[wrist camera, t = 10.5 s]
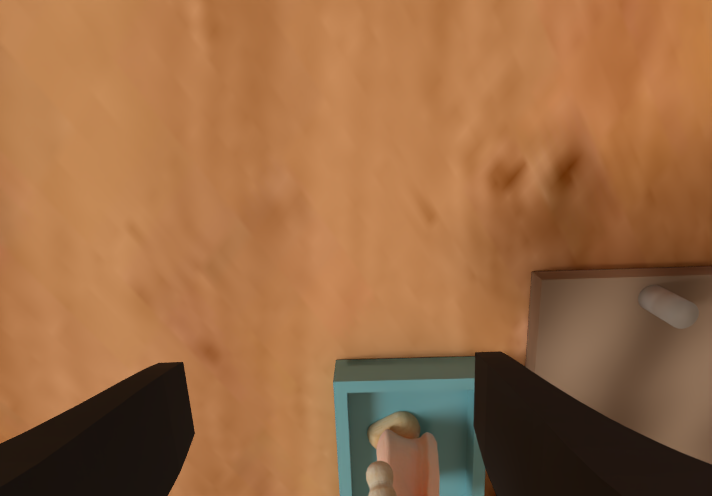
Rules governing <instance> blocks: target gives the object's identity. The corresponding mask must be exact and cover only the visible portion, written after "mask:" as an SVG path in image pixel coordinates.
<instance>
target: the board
mask: <svg viewBox="0 0 712 496" xmlns="http://www.w3.org/2000/svg"><path fill="white" fill-rule="evenodd" d="M525 367H526V368H528V369H529V370H531V371H532V372H534V373H535V374H537V375H538V376H540V377H542V378H543V379H545V380H546V381H548V382H549V383H551V384H552V385H554V386H556V387H557V388H559V389H560V390H562V391H563V392H565V393H567V394H568V395H570V396H572V397H573V398H575V399H577V400H578V401H580V402H582V403H583V404H585V405H587V406H589V407H590V408H592V409H594V410H596V411H598V412H599V413H601V414H603V415H605V416H606V417H608V418H610V419H612V420H614V421H616V422H618V423H620V424H622V425H624V426H625V427H628V428H630V429H632V430H634V431H636V432H638V433H640V434H642V435H644V436H646V437H648V438H651V439H653V440H655V441H657V442H659V443H661V444H663V445H666V446H668V447H670V448H672V449H675V450H677V451H679V452H682V453H684V454H687V455H689V456H692V457H694V458H697V459H699V460H702V461H704V462H706V463H709V464H711V465H712V266H699V267H667V268H635V269H603V270H571V271H540V272H532V276H531V291H530V305H529V320H528V335H527V349H526V364H525Z"/></svg>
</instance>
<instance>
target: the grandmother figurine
mask: <svg viewBox="0 0 712 496" xmlns="http://www.w3.org/2000/svg"><path fill="white" fill-rule="evenodd" d="M367 436H368V439H369V441H370V443H371V445H372V446H373V447H374V448H375V449H377V461H375V462H373V463H372V464H370V465H369V467H368V469H367V472H366V480H367V483H368V485H369V488H370V491H369V495H368V496H439V483H440V475H439V460H438V449H437V442H436V439H435V438H434V436H433V435H432V434H431V433H428V432H426V433H424V434H423V435H422V436H421V437H419V436H420V425H419V422H418V420H417V418H416V417H415V416H414V415H412V414H411V413H409V412H406V411H399V412H395V413H393V414H391V415H388V416H386V417H385V418H383V419H380V420H378V421H377V422H375V423H373V424H372V425H371V426H370V427H369V428H368V431H367Z"/></svg>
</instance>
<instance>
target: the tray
mask: <svg viewBox="0 0 712 496" xmlns="http://www.w3.org/2000/svg"><path fill="white" fill-rule="evenodd" d="M474 383H475V356H470V357H432V358H394V359H356V360H336V363H335V372H334V380H333V386H334V403H335V420H336V438H337V455H338V472H339V489H340V496H368V495H369V491H370V488H369V485H368V483H367V480H366V472H367V469H368V467H369V465H370V464H372V463H373V462H375V461H377V449H375V448H374V447H373V446H372V445H371V443H370V441H369V439H368V436H367V431H368V428H369V427H370V426H371V425H372V424H373V423H375V422H377V421H378V420H380V419H383V418H385V417H386V416H388V415H391V414H393V413H395V412H399V411H406V412H409V413H411V414H412V415H414V416H415V417H416V418H417V420H418V422H419V425H420V436H419V437H421V436H422V435H423V434H424V433H426V432H428V433H431V434H432V435H433V436H434V438H435V439H436V442H437V449H438V460H439V475H440V483H439V496H484V489H485V466H484V463H483V459H482V456H481V452H480V449H479V445H478V441H477V437H476V433H475V430H474V426H473V421H474Z"/></svg>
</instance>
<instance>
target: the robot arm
mask: <svg viewBox="0 0 712 496" xmlns="http://www.w3.org/2000/svg"><path fill="white" fill-rule="evenodd" d="M473 426H474V430H475V433H476V437H477V441H478V445H479V449H480V452H481V456H482V459H483V463H484V466H485V468H486V471H487V473H488V476H489V478H490V481H491V483H492V485H493V488H494V490H495V493H496V495H497V496H712V465H711V464H709V463H706V462H704V461H702V460H699V459H697V458H694V457H692V456H689V455H687V454H684V453H682V452H679V451H677V450H675V449H672V448H670V447H668V446H666V445H663V444H661V443H659V442H657V441H655V440H653V439H651V438H648V437H646V436H644V435H642V434H640V433H638V432H636V431H634V430H632V429H630V428H628V427H625V426H624V425H622V424H620V423H618V422H616V421H614V420H612V419H610V418H608V417H606V416H605V415H603V414H601V413H599V412H598V411H596V410H594V409H592V408H590V407H589V406H587V405H585V404H583V403H582V402H580V401H578V400H577V399H575V398H573V397H572V396H570V395H568V394H567V393H565V392H563V391H562V390H560V389H559V388H557V387H556V386H554V385H552V384H551V383H549V382H548V381H546V380H545V379H543V378H542V377H540V376H538V375H537V374H535V373H534V372H532V371H531V370H529V369H528V368H526V367H525V366H523V365H522V364H520V363H519V362H517V361H516V360H514V359H513V358H511V357H509V356H508V355H506V354H504V353H502V352H475V383H474V421H473ZM194 434H195V432H194V425H193V419H192V413H191V407H190V401H189V395H188V389H187V383H186V377H185V371H184V364H183V362H172V363H158V364H155V365H153V366H150V367H148V368H146V369H144V370H142V371H140V372H138V373H136V374H134V375H132V376H130V377H128V378H127V379H125V380H123V381H121V382H119V383H117V384H116V385H114V386H112V387H110V388H108V389H106V390H105V391H103V392H101V393H99V394H97V395H95V396H94V397H92V398H90V399H88V400H86V401H85V402H83V403H81V404H79V405H77V406H75V407H73V408H71V409H69V410H67V411H66V412H64V413H62V414H60V415H58V416H56V417H54V418H52V419H50V420H48V421H46V422H44V423H42V424H40V425H38V426H36V427H34V428H32V429H30V430H28V431H26V432H24V433H22V434H20V435H18V436H16V437H14V438H12V439H9V440H7V441H5V442H3V443H1V444H0V496H168V494H169V492H170V490H171V489H172V487H173V485H174V483H175V481H176V479H177V477H178V475H179V473H180V471H181V468H182V466H183V463H184V461H185V459H186V456H187V453H188V451H189V448H190V445H191V442H192V440H193V437H194Z"/></svg>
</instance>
